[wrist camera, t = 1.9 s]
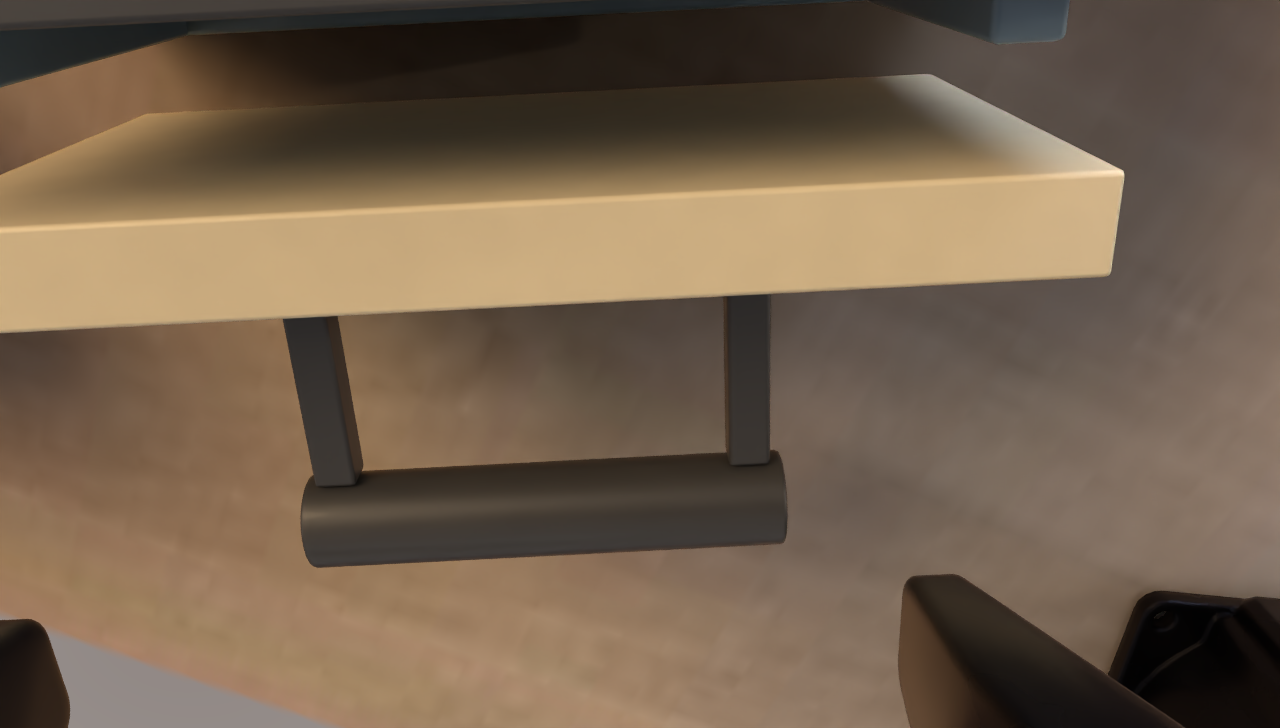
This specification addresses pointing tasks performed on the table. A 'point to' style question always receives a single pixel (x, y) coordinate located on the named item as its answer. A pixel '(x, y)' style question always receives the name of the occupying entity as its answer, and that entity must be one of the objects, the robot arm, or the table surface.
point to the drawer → (541, 246)
